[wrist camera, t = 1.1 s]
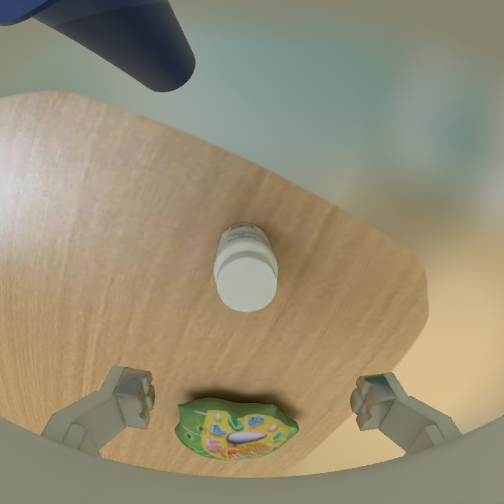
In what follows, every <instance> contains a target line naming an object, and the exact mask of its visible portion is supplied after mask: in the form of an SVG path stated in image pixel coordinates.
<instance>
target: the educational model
mask: <svg viewBox="0 0 504 504" xmlns="http://www.w3.org/2000/svg"><path fill="white" fill-rule="evenodd" d="M178 407H179V410H180V413H181V415H180V422H179V424H178V425H177V426H176V428H175V432H176V435H177V437H178V438H179V440H180V441H181V442H182V443H183V444H184V445H185V446H186V447H188V448H189V449H190V450H192V451H193V452H195V453H197V454H199V455H202V456H204V457H208V458H212V459H219V460H242V459H251V458H257V457H261V456H264V455H267V454H269V453H271V452H273V451H275V450H276V449H278V448H280V447H281V446H282V445H283V444H285V443H286V442H287V441H288V440H289V439H290V438H292V437H293V436H294V435H295V434H296V433H297V432H298V430H299V427H298V424H297V422H296V421H294V420H293V419H290V418H288V417H287V416H286V415H285V414H284V413H283V412H281V411H280V410H278V407H276V406H275V405H273V404H259V403H247V404H240V403H234V402H230V401H227V400H223V399H219V398H202V399H198V400H194V401H192V402H189V403H186V404H180V405H178Z"/></svg>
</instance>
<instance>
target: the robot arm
mask: <svg viewBox="0 0 504 504" xmlns="http://www.w3.org/2000/svg"><path fill="white" fill-rule="evenodd" d="M151 382H152V375H151V372H150V371H144V370H139V369H133V368H128V367H121V366H117V365H114V366H113V367H112V368H111V370H110V372H109V374H108V375H107V377H106V379H105V381H104V383H103V385H102V387H101V389H100V391H99V392H98V391H95V392H93V393H92V394H90V395H88V396H86V397H84V398H82V399H81V400H79V401H77V402H75V403H73V404H71V405H69V406H68V407H66V408H64V409H62V410H60V411H58V412H56V413H54V414H52V416H51V418H50V420H49V422H48V423H47V425H46V427H45V429H44V431H43V432H42V434H41V436H40V435H37V434H35V433H33V432H31V431H29V430H26V429H24V428H22V427H20V426H18V425H16V424H14V423H12V422H10V421H8V420H6V419H4V418H2V417H1V416H0V504H504V415H503V416H501V417H499V418H497V419H495V420H494V421H492V422H490V423H488V424H486V425H484V426H481V427H479V428H477V429H475V430H473V431H471V432H469V433H466V434H464V435H462V434H461V432H460V431H459V429H458V428H457V426H456V425H455V423H454V422H453V420H452V419H451V417H449V416H447V415H445V414H443V413H441V412H439V411H437V410H436V409H434V408H432V407H430V406H428V405H426V404H425V403H423V402H421V401H419V400H417V399H415V398H414V397H412V396H408V395H407V394H406V392H405V391H404V389H403V388H402V386H401V384H400V383H399V381H398V380H397V379H396V377H395V375H394V374H393V373H392V372H390V373H383V374H376V375H367V376H360V377H359V378H358V379H357V382H356V385H357V388H356V389H354V390H353V392H352V394H351V399H350V404H351V408H352V411H353V412H354V413H355V414H357V415H358V416H357V418H356V421H357V423H358V426H359V428H360V431H363V430H370V429H376V428H379V430H380V431H381V432H382V433H384V434H385V435H386V436H387V437H389V438H390V439H391V440H392V441H393V442H395V443H396V444H397V445H398V446H400V447H401V448H402V449H403V450H405V451H406V453H405V455H404V456H403V457H399V458H396V459H392V460H388V461H384V462H380V463H376V464H372V465H367V466H362V467H358V468H352V469H347V470H341V471H334V472H328V473H320V474H312V475H302V476H289V477H270V478H231V477H212V476H200V475H190V474H181V473H174V472H167V471H160V470H155V469H149V468H144V467H139V466H134V465H130V464H125V463H121V462H117V461H113V460H109V459H106V458H102V456H101V454H100V453H99V451H98V450H99V449H101V448H102V447H103V446H104V445H106V444H107V443H108V442H109V441H110V440H112V439H113V438H114V437H115V436H116V435H118V434H119V433H120V432H121V431H122V430H123V429H125V428H126V426H128V427H134V428H140V429H147V427H148V423H149V420H150V414H149V411H150V410H152V409H153V405H154V399H155V391H154V387H153V386H152V385H151Z"/></svg>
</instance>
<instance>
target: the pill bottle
mask: <svg viewBox="0 0 504 504" xmlns="http://www.w3.org/2000/svg"><path fill="white" fill-rule="evenodd" d="M277 275H278V266H277V261H276V259H275V256H274V253H273V250H272V248H271V245H270V242H269V239H268V237H267V235H266V234H265V233H264V231H263V230H262V229H260V228H259V227H257V226H256V225H253V224H250V223H238V224H235V225H233V226H231V227H229V228H228V229H227V230H225V232H224V233H223V234H222V236H221V237H220V240H219V243H218V249H217V254H216V259H215V263H214V278H215V281H216V284H217V291H218V294H219V296H220V298H221V300H222V301H223V302H224V303H225V304H226V305H227V306H228V307H230V308H232V309H234V310H236V311H240V312H252V311H257V310H259V309H261V308H263V307H265V306H266V305H268V304H269V303H270V301H271V300H272V299H273V297H274V296H275V293H276V290H277Z"/></svg>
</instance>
